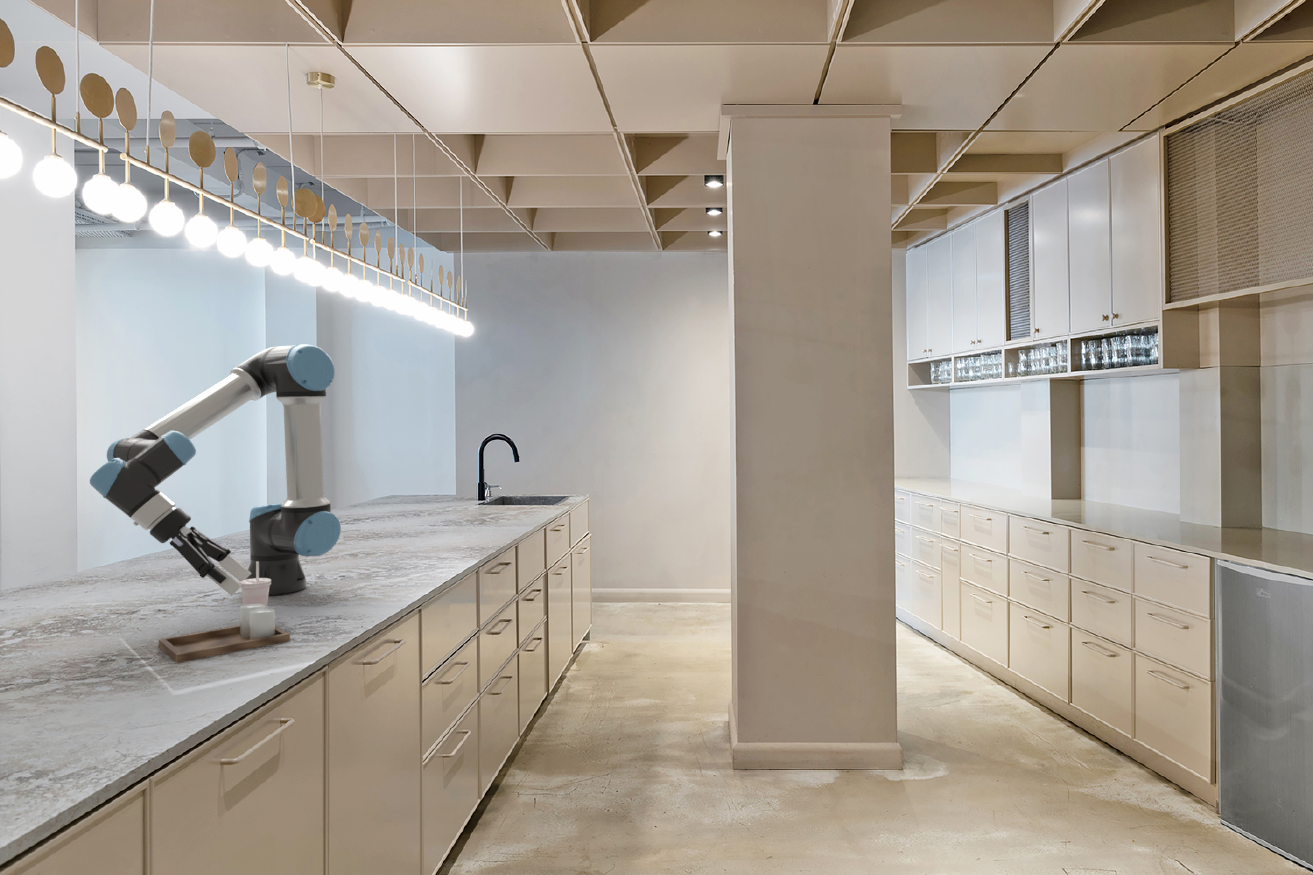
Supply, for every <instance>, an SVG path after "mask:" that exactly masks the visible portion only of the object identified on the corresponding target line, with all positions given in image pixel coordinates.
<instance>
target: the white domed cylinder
mask: <svg viewBox="0 0 1313 875" xmlns="http://www.w3.org/2000/svg"><path fill="white" fill-rule="evenodd" d="M275 626H276V609H275V608H271V607H270V608H268V607H267V608H265V609H256V610H252V611H250V640H253V639H258V638H263V637H269V636H274V635H275Z"/></svg>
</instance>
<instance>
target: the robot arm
mask: <svg viewBox="0 0 1313 875" xmlns="http://www.w3.org/2000/svg"><path fill="white" fill-rule="evenodd" d="M335 373H336V371H335V364H334V362H333V360H332V358H331V356H330V355H329V354H328V353H327V352H326V351H325V350H324V349H323V348H321V347H319V346H316V345H314V344H305V343H302V344H293V345H292V344H291V345H282V346H280V345H278V346H276V345H275V346H273V347H269V348H266V349H263V350H262V351H260V352H258V353H256V354H255V355H253V356H251V357H250V358H248V359H246V360H245V361H243V362H242V363H240V364H239V365H237V366H235V367H234V368H232V369H231V370H230V372H229V376H227V377H226V378H224V379H223V380H221V381H219V382H218V383H216V384H215V385H212V387H210V388H208V389H207V390H205V391H204V392H202V393H200V394H198V395H197V396H195V397H193V398H192V399H191V400H189V401H187V402H185V403H184V404H182V405H181V406H179V407H178V408H176V409H175V410H173V411H171V412H170V413H168V414H166V415H165V416H164V417H162V418H160V419H159V420H157V421H155V422H154V423H152V424H151V425H149V426H148V427H146V428H144V429H142V430H140V431H139V432H137V433H136V434H133V435H132V436H131V437H126V438H121V439H117V440H115V441H114V442H112V443H111V444H110V446H109V447H108V449H107V451H106V458H107V461H106V463H105V464H102V466H100V467H99V468H98V469H97V470H96V471H95V472H93V474H92V475H91V476H90V479H89V484H90V486H91V487H92V488H94V490H96V491H97V492H98V493H99V494H100V495H101V496H102V498H104V499H106V500H107V501H108V502H110V503H111V504H112V505H113V506H114V507H116V508H117V509H118V510H120V511H121V512H123V513H124V514H125V515H126V516H128V517H129V518H130V519H131V520H132V521H133V525H134V526H136V527H137V526H140V527H141V528H142V529H143V530H145V531H147V530H149V535H150V536H152V537H153V538H154V539H155V540H156V541H158V542H159V543H160V544H165V543H166V542H168V541H169V540H170V539H172V540H171V541H169V545H170V546H172V547H173V548H174V549H175V550H176V551H177V552H178V553H179V554H180V555H181V556H182V557H183V558H184V559H185V560H186V561H187V562H188V564H190V566H191V567H193V569H194V570H195V571H196V572H197V573H198V576H199V577H200V578H202V579H204V578H205V577H208V578H209V579H210V580H211V581H212V582H214V583H215V584H217V585H218V586H219V587H220V588H221V589H223V591H224V592H227V593H228V594H229V595H230V596H231V597H232V596H233V595H234V594H235V593H236V592H237V591H238V590H239V589H241V586H242V585H241V584H240V583H239V582H240V581H243V580H246V579H253V578H256V562H257V561H259V578H269V579H271V585H270V587H269V595H268V596H275V595H283V594H290V593H294V592H295V593H296V592H299V591H302V590H304V589H305V588H307V578H306V575H305V572H304V569H303V567H302V565H301V562H300V558H299V557H300V556H302V557H321V556H323V555H325V554H327V553H329V552H330V551H332V549H333V548H334V546H335V545H336V544H337V543H338V541H339V540H340V536H341V529H342V528H341V523H340V520H339V518H338V517H337V516H336V514H334V513H332V511H331V510H332V509H331V501H330V500H329V499H328V498H327V497H326V496H325V495H324V494H325V492H324V490H325V489H324V472H323V471H324V469H323V468H324V467H323V464H324V463H323V444H322V440H323V439H322V418H321V417H322V416H321V414H322V413H321V404H322V402H324V401H325V399H327V389H328V387H330V386H331V383H333V381H334V379H335V375H336V374H335ZM272 393H275V394H276V395H275V396H276V397H275V398H276V399H277V400H278V401H279V402H280V403H281V404H282V406H283V424H284V427H283V428H284V447H285V448H284V451H285V453H284V454H285V472H286V476H285V478H286V499H285V500H284V501H283V502H282V503H275V504H274V503H273V504H264V505H256V506H254V507H252V508H251V510H250V511H249V512H250V514H249V520H248V522H249V537H250V538H249V542H250V544H249V551H250V553H249V554H250V558H249V559H250V561H249V565H248V569H247V568H245V566H244V565H242V564H241V563H240V562H238V560H236V559H235V558H234V557H233V556H231V553H232V550H230V548H229V549H228V548H225V547H224V546H222V545H221V544H219V543H217V542H216V541H215V540H213V539H212V538H210V537H209V536H208V535H205V534H204V533H202V532H201V531H200V530H199V529H197V528H196V527H194V526H190V527H187V526H186V525H187V524H188V523H189V522H190V521H191V519H192V518H191V516H190V515H189V514H187V512H185V511H184V510H183V509H181V507H177V508H176V503H175V502H174V501H172V499H170V498H169V497H167V495H165V494H164V493H162V491H160V490H159V489H157V488H156V487H157V486H159V485H160V484H162V483H163V482H164V481H166V479H168V478H169V477H171V476H172V475H173V474H174V473H176V472H177V471H179V470H180V469H181V468H182V467H183V466H186V465H187V464H188V463H189V462H190V461H191V460H192V459H193V458H194V457H195V456H196V453H197V449H196V446H195V445H194V443H193V442H192V441H191V440H192V439H194V438H195V437H196V436H198V435H199V434H201V433H202V432H204V431H205V430H207V429H209V428H210V427H211V426H213V425H214V424H216V423H217V422H219V421H220V420H222V419H224V418H225V417H226V416H228V415H229V414H232V413H233V412H234V411H236V410H237V409H239V408H240V407H242V406H243V405H245V404H247V403H248V402H250V401H258V400H260V399H261V398H263V397H265V396H267V395H269V394H272ZM210 558H211V559H213V560H214V561H216V562H217V563H218V565H216V564H214V562H213V561H212V560H211V559H210ZM232 576H233V577H232ZM236 579H237V580H238V581H237V580H236Z"/></svg>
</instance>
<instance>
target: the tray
mask: <svg viewBox="0 0 1313 875" xmlns="http://www.w3.org/2000/svg"><path fill="white" fill-rule="evenodd" d="M290 641H291V634H290V633H289V632H287V631H285V629H284V630H283V629H282V628H280V627H278V626H277V625H275V635H274V636H269V637H263V638H258V639H253V640H250V638H243V637H240V624H239V625H234V626H228V627H223V628H217V629H211V630H206V631H205V630H204V631H199V632H198V631H197V632H195V633H194V632H193V633H186V634H183V635H182V634H181V635H176V636H170V637H163V638H158V647H159V648H160V649H161V650H162V651H163V652H164V653H165V654H166V655H168V656H169V657H170V659H172V660H173V661H174V662H175V663H183V662H188V661H194V660H198V659H204V658H209V657H214V656H220V655H223V654H225V655H226V654H230V653H234V652H240V651H244V650H251V649H255V648H256V649H257V648H260V647H266V646H271V645H275V644H281V643H282V644H283V643H286V642H290Z"/></svg>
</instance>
